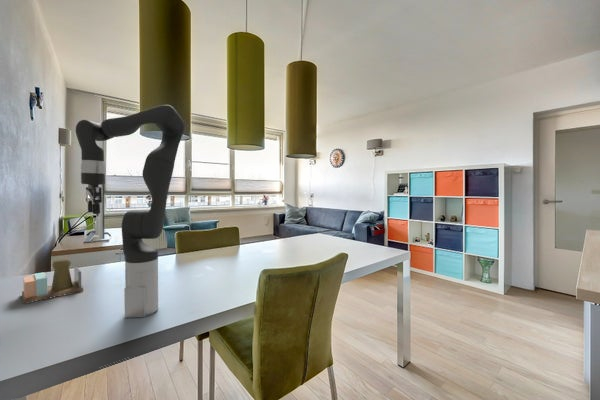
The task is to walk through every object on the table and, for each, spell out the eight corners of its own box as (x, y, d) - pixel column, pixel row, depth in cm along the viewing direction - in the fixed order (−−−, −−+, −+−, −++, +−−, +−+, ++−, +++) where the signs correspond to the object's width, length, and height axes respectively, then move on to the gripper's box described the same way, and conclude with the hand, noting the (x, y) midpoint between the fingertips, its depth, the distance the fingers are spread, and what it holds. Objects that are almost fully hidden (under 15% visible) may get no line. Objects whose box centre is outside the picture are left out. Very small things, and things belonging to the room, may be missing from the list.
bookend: (78, 287, 102) (78, 272, 102) (74, 281, 108) (74, 267, 108) (81, 286, 103) (81, 271, 102) (77, 281, 109) (76, 266, 108)
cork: (75, 286, 103) (74, 258, 102) (54, 291, 97) (54, 262, 97) (68, 283, 106) (68, 256, 105) (48, 288, 101) (48, 260, 100)
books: (25, 298, 91) (24, 281, 91) (23, 291, 97) (23, 275, 97) (47, 293, 95) (47, 277, 95) (44, 287, 101) (44, 272, 101)
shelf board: (23, 304, 90) (23, 299, 90) (22, 295, 98) (22, 291, 98) (83, 291, 102) (83, 287, 102) (77, 284, 110) (77, 280, 110)
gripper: (109, 172, 103) (109, 213, 104) (100, 173, 112) (100, 211, 113) (84, 171, 97) (85, 215, 98) (77, 172, 107) (78, 212, 107)
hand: (93, 213), depth 105 cm, fingers open, 8 cm apart
